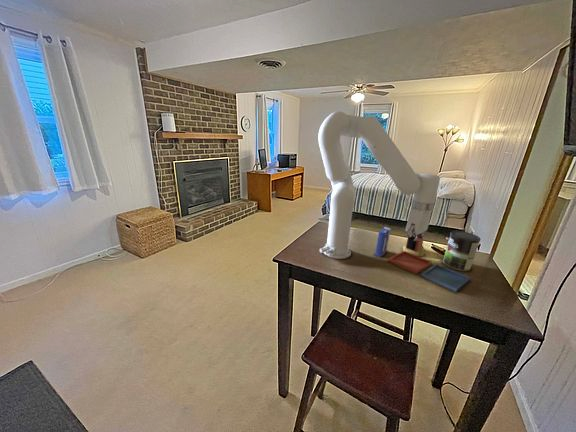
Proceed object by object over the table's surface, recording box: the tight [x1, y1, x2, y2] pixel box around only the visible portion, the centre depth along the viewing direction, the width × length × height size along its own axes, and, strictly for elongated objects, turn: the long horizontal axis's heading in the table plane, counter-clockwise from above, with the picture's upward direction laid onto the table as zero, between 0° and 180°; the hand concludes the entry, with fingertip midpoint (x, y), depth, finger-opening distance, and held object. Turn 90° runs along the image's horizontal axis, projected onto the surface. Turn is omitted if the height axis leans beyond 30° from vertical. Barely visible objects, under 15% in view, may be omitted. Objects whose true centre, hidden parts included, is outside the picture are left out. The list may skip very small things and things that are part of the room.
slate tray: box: [420, 263, 471, 292], centre depth 93 cm, size 13×12×2 cm
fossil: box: [402, 244, 427, 257], centre depth 114 cm, size 11×6×10 cm
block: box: [405, 238, 424, 252], centre depth 101 cm, size 4×4×4 cm
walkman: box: [374, 226, 392, 258], centre depth 110 cm, size 8×3×12 cm, turn 141°
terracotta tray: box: [387, 250, 432, 274], centre depth 104 cm, size 13×12×2 cm
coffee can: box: [442, 230, 481, 271], centre depth 102 cm, size 10×10×14 cm
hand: (413, 246), depth 101 cm, fingers closed on block, 4 cm apart
